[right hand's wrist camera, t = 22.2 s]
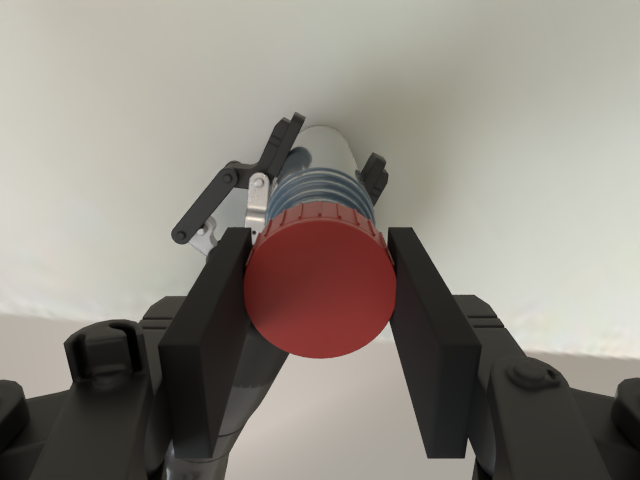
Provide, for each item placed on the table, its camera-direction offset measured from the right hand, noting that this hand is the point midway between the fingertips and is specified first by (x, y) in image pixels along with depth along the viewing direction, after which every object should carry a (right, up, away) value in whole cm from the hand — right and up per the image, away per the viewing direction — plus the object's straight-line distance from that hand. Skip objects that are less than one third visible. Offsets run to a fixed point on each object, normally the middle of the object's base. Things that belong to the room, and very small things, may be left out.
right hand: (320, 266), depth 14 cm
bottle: (0, +7, +19) cm, 20 cm away
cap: (0, -1, -1) cm, 2 cm away
